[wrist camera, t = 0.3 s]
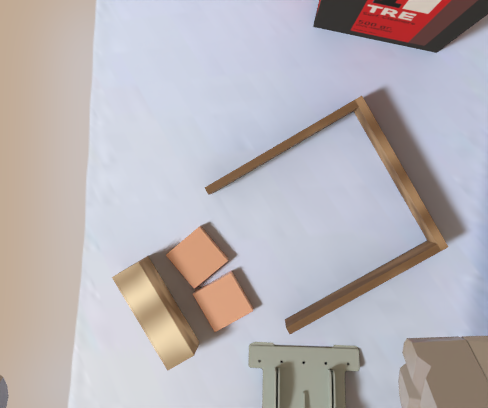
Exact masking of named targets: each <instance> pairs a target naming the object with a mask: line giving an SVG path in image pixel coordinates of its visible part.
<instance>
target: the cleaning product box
mask: <svg viewBox="0 0 488 408" xmlns="http://www.w3.org/2000/svg"><path fill="white" fill-rule="evenodd" d="M487 14H488V0H319V4H318V8H317V12H316V17H315V21H314V26H313V27H317V28H322V29H327V30H331V31H336V32H341V33H346V34H350V35H355V36H360V37H365V38H369V39H374V40H379V41H383V42H388V43H393V44H398V45H402V46H407V47H412V48H417V49H421V50H426V51H431V52H436V53H437V52H438V51H439V50H441V49H442V48H443V47H445V46H446V45H447V44H449V43H450V42H451V41H453V40H454V39H455V38H457V37H458V36H459V35H461V34H462V33H463V32H465V31H466V30H467V29H469V28H470V27H471V26H473V25H474V24H475V23H476V22H478V21H479V20H480V19H482V18H483V17H484V16H486V15H487Z"/></svg>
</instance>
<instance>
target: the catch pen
mask: <svg viewBox="0 0 488 408" xmlns="http://www.w3.org/2000/svg"><path fill="white" fill-rule="evenodd" d="M353 111H354V113H355V115H356V116H357V118H358V120H359V122H360V123H361V125H362V127H363V129H364V130H365V132H366V134H367V136H368V137H369V139H370V141H371V143H372V144H373V146H374V148H375V150H376V151H377V153H378V155H379V156H380V158H381V160H382V162H383V163H384V165H385V167H386V169H387V170H388V172H389V174H390V176H391V177H392V179H393V181H394V183H395V184H396V186H397V188H398V190H399V191H400V193H401V195H402V197H403V198H404V200H405V202H406V204H407V205H408V207H409V209H410V211H411V212H412V214H413V216H414V218H415V219H416V221H417V223H418V225H419V226H420V228H421V230H422V232H423V233H424V235H425V237H426V239H427V241H426V242H424V243H422V244H420V245H418V246H417V247H415V248H413V249H411V250H409V251H408V252H406V253H404V254H402V255H400V256H399V257H397V258H395V259H393V260H391V261H390V262H388V263H386V264H384V265H382V266H381V267H379V268H377V269H375V270H373V271H372V272H370V273H368V274H366V275H364V276H363V277H361V278H359V279H357V280H355V281H354V282H352V283H350V284H348V285H346V286H345V287H343V288H341V289H339V290H337V291H336V292H334V293H332V294H330V295H328V296H327V297H325V298H323V299H321V300H319V301H317V302H316V303H314V304H312V305H310V306H308V307H307V308H305V309H303V310H301V311H299V312H298V313H296V314H294V315H292V316H290V317H289V318H287V319H285V323H286V328H287V330H288V332H289V334H292V333H293V332H295V331H297V330H299V329H301V328H302V327H304V326H306V325H308V324H310V323H312V322H313V321H315V320H317V319H319V318H321V317H322V316H324V315H326V314H328V313H330V312H331V311H333V310H335V309H337V308H339V307H341V306H342V305H344V304H346V303H348V302H350V301H351V300H353V299H355V298H357V297H359V296H360V295H362V294H364V293H366V292H368V291H370V290H371V289H373V288H375V287H377V286H379V285H380V284H382V283H384V282H386V281H388V280H389V279H391V278H393V277H395V276H397V275H398V274H400V273H402V272H404V271H406V270H408V269H409V268H411V267H413V266H415V265H417V264H418V263H420V262H422V261H424V260H426V259H427V258H429V257H431V256H433V255H435V254H437V253H438V252H440V251H442V250H444V249H446V248H447V247H448V245H447V244H446V242H445V240H444V238H443V237H442V235H441V233H440V231H439V230H438V228H437V226H436V224H435V223H434V221H433V219H432V217H431V216H430V214H429V212H428V210H427V209H426V207H425V205H424V203H423V202H422V200H421V198H420V196H419V195H418V193H417V191H416V189H415V188H414V186H413V184H412V182H411V181H410V179H409V177H408V175H407V174H406V172H405V170H404V168H403V167H402V165H401V163H400V161H399V160H398V158H397V156H396V154H395V153H394V151H393V149H392V147H391V146H390V144H389V142H388V140H387V139H386V137H385V135H384V133H383V132H382V130H381V128H380V126H379V125H378V123H377V121H376V119H375V118H374V116H373V114H372V112H371V111H370V109H369V107H368V105H367V104H366V102H365V100H364V98H363V97H362V96H360V97H359V98H357V99H355V100H354V101H352V102H350V103H349V104H347V105H345V106H343V107H342V108H340V109H338V110H337V111H335V112H333V113H331V114H330V115H328V116H326V117H325V118H323V119H321V120H320V121H318V122H316V123H314V124H313V125H311V126H309V127H308V128H306V129H304V130H302V131H301V132H299V133H297V134H296V135H294V136H292V137H290V138H289V139H287V140H285V141H284V142H282V143H280V144H279V145H277V146H275V147H273V148H272V149H270V150H268V151H267V152H265V153H263V154H261V155H260V156H258V157H256V158H255V159H253V160H251V161H249V162H248V163H246V164H244V165H243V166H241V167H239V168H238V169H236V170H234V171H232V172H231V173H229V174H227V175H226V176H224V177H222V178H220V179H219V180H217V181H215V182H214V183H212V184H210V185H209V186H207V187H205V189H206V191H207V193H208V194H212V193H214V192H216V191H217V190H219V189H221V188H222V187H224V186H226V185H228V184H229V183H231V182H233V181H234V180H236V179H238V178H240V177H241V176H243V175H245V174H246V173H248V172H250V171H252V170H253V169H255V168H257V167H258V166H260V165H262V164H264V163H265V162H267V161H269V160H270V159H272V158H274V157H275V156H277V155H279V154H281V153H282V152H284V151H286V150H287V149H289V148H291V147H293V146H294V145H296V144H298V143H299V142H301V141H303V140H305V139H306V138H308V137H310V136H311V135H313V134H315V133H317V132H318V131H320V130H322V129H323V128H325V127H327V126H329V125H330V124H332V123H334V122H335V121H337V120H339V119H341V118H342V117H344V116H346V115H347V114H349V113H351V112H353Z"/></svg>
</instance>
